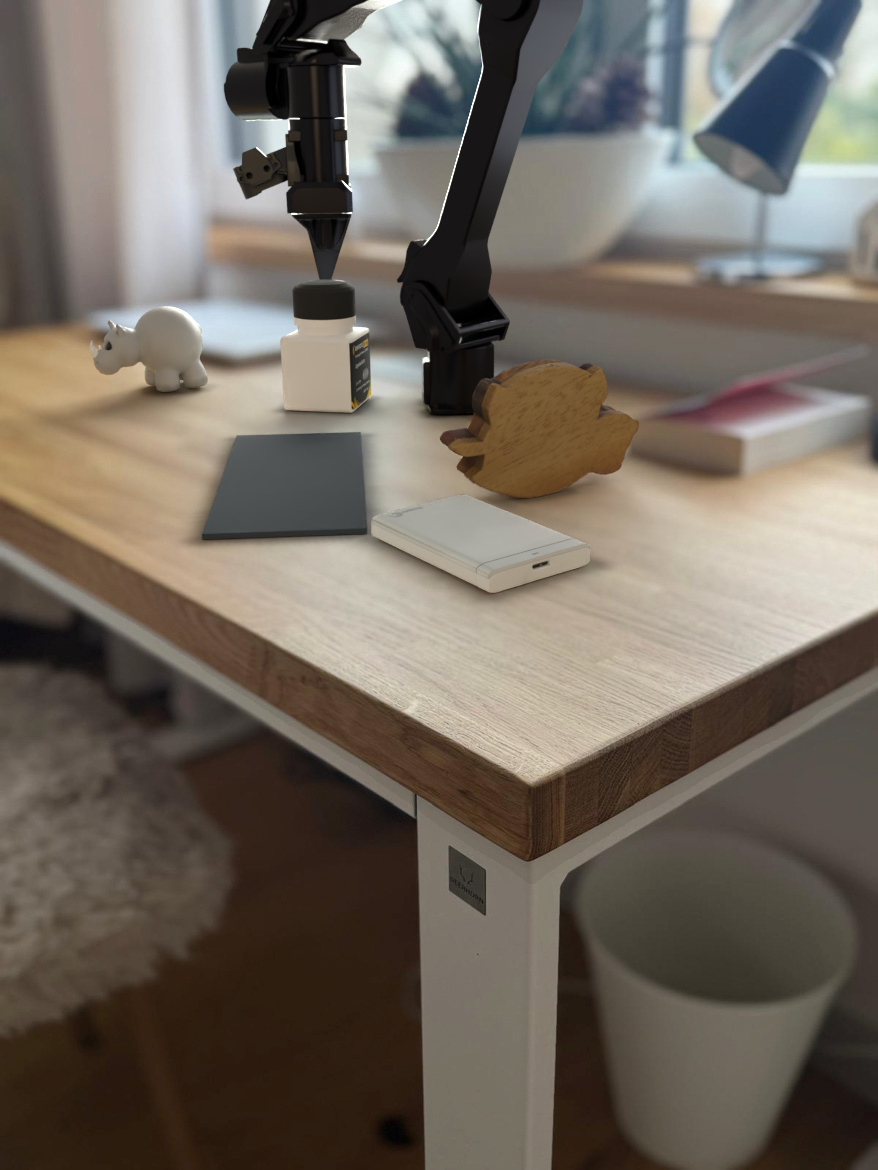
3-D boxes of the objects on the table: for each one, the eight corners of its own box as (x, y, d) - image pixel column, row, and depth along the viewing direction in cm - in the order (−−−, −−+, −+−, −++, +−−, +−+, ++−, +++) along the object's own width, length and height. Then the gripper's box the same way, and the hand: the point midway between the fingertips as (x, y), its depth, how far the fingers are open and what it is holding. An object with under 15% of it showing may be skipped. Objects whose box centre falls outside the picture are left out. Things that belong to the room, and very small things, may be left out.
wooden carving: (600, 467, 87) (607, 342, 83) (640, 480, 84) (648, 351, 80) (429, 503, 79) (428, 366, 75) (465, 520, 75) (465, 377, 71)
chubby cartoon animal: (86, 390, 115) (75, 309, 112) (194, 377, 121) (186, 299, 118) (104, 403, 110) (93, 318, 106) (216, 389, 115) (209, 307, 112)
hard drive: (370, 515, 71) (488, 569, 62) (467, 492, 76) (591, 539, 67) (371, 539, 72) (488, 596, 63) (467, 514, 77) (590, 564, 67)
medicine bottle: (353, 413, 105) (348, 286, 100) (283, 410, 106) (275, 284, 101) (372, 397, 111) (368, 277, 106) (305, 395, 112) (299, 276, 108)
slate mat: (360, 436, 97) (360, 431, 97) (367, 533, 73) (367, 528, 73) (236, 439, 96) (236, 435, 96) (202, 539, 72) (201, 533, 72)
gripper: (243, 121, 115) (254, 273, 121) (225, 118, 97) (239, 295, 103) (348, 120, 115) (354, 271, 121) (349, 117, 98) (356, 293, 104)
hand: (325, 282), depth 113 cm, fingers closed
